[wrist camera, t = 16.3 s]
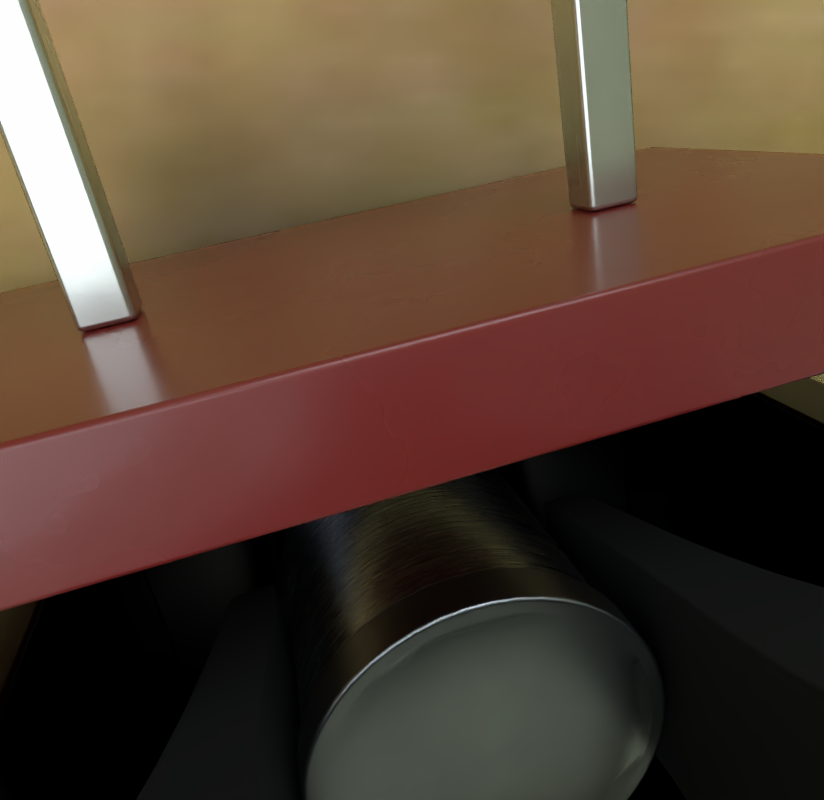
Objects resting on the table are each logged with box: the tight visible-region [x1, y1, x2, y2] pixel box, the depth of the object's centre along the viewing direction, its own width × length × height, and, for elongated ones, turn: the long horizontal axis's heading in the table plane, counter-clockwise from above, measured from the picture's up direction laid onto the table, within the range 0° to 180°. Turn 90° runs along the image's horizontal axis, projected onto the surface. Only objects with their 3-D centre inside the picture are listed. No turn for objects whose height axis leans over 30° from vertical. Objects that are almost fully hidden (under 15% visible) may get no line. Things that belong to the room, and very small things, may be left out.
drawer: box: [0, 0, 824, 800], centre depth 10 cm, size 19×11×7 cm, turn 11°
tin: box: [282, 468, 665, 800], centre depth 10 cm, size 4×4×5 cm
